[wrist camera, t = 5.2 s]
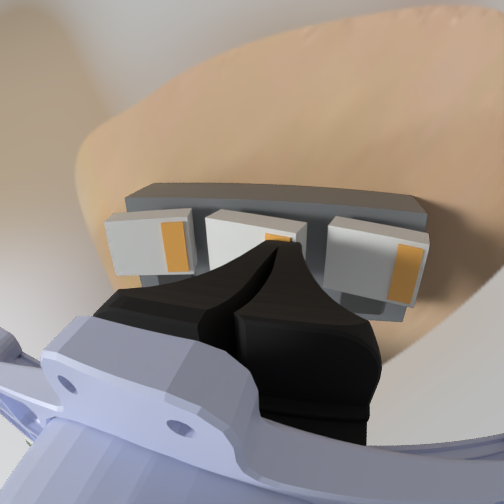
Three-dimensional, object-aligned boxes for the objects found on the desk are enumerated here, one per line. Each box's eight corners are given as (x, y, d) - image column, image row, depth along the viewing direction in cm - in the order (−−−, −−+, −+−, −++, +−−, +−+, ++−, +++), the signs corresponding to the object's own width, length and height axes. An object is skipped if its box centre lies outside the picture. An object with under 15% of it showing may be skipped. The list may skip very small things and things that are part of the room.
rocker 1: (197, 261, 15) (193, 275, 14) (123, 263, 15) (115, 276, 14) (191, 208, 14) (186, 217, 13) (113, 213, 14) (102, 222, 13)
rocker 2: (303, 284, 13) (292, 299, 12) (225, 264, 15) (209, 277, 14) (307, 222, 12) (295, 234, 11) (221, 209, 14) (203, 218, 13)
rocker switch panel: (394, 291, 17) (404, 330, 14) (165, 269, 20) (137, 298, 17) (412, 195, 14) (432, 219, 11) (152, 183, 18) (117, 201, 15)
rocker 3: (414, 292, 12) (413, 309, 11) (330, 274, 14) (322, 288, 13) (428, 233, 11) (429, 246, 10) (335, 215, 12) (327, 226, 11)
